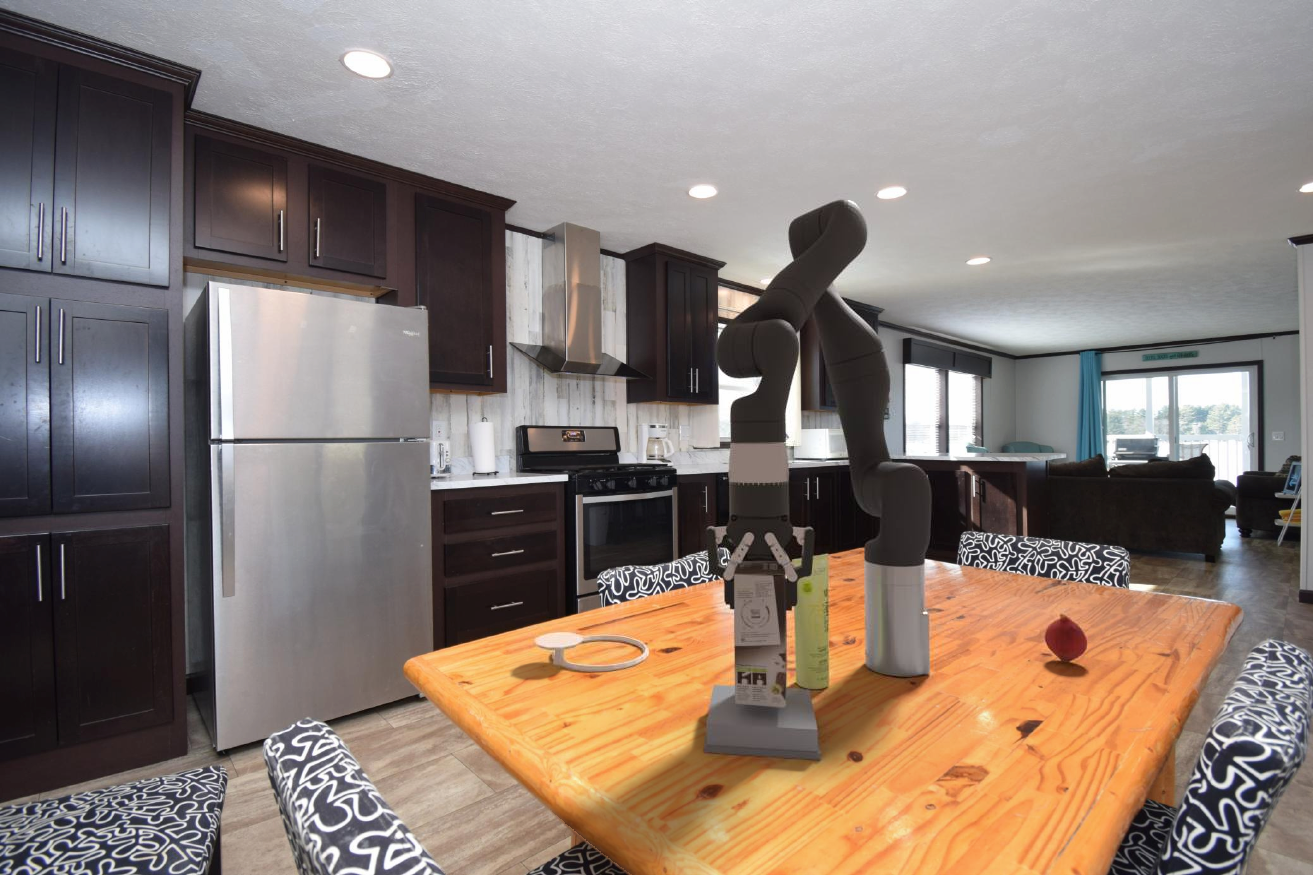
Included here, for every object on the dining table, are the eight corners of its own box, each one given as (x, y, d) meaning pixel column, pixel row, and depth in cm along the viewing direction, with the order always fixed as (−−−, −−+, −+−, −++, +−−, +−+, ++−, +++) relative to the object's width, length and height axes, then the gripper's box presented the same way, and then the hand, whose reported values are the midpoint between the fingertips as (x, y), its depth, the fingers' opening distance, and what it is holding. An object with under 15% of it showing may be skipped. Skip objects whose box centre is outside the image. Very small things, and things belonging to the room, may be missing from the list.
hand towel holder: (668, 634, 110) (558, 659, 98) (668, 660, 110) (558, 687, 98) (617, 612, 124) (516, 631, 112) (617, 635, 124) (516, 656, 112)
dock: (812, 713, 87) (811, 688, 87) (820, 760, 75) (820, 730, 75) (711, 708, 89) (711, 683, 89) (704, 752, 77) (703, 724, 77)
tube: (828, 693, 94) (826, 560, 94) (793, 689, 95) (791, 558, 95) (830, 679, 99) (828, 553, 99) (796, 676, 101) (795, 552, 101)
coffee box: (787, 709, 77) (785, 574, 77) (733, 705, 78) (731, 572, 78) (787, 680, 86) (786, 559, 86) (739, 677, 87) (737, 558, 87)
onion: (1083, 659, 107) (1083, 611, 107) (1090, 670, 102) (1089, 620, 102) (1043, 654, 109) (1042, 607, 109) (1047, 665, 104) (1047, 616, 104)
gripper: (813, 476, 85) (815, 602, 85) (704, 476, 87) (706, 599, 87) (819, 480, 77) (821, 618, 77) (699, 480, 79) (701, 615, 79)
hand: (760, 608), depth 82 cm, fingers closed on coffee box, 6 cm apart
